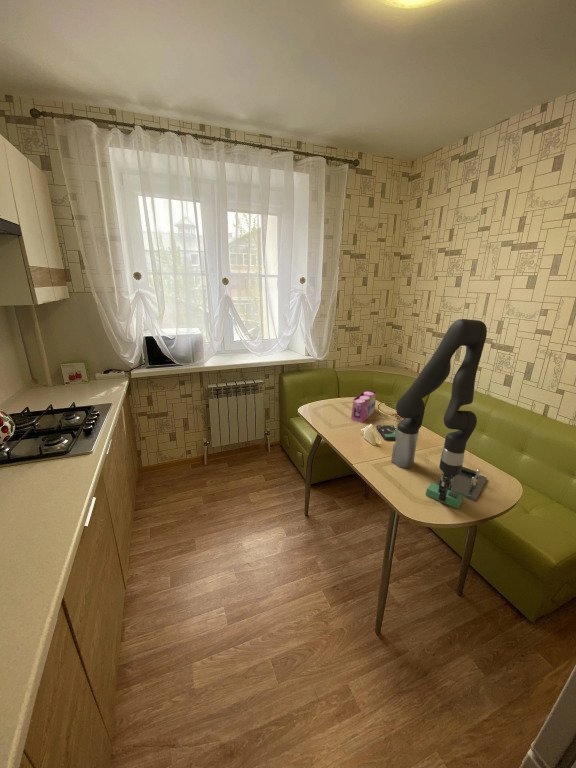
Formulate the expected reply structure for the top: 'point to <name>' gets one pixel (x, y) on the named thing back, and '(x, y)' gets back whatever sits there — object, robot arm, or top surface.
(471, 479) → the chassis
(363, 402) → the pink multipack of cans
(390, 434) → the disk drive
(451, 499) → the board
